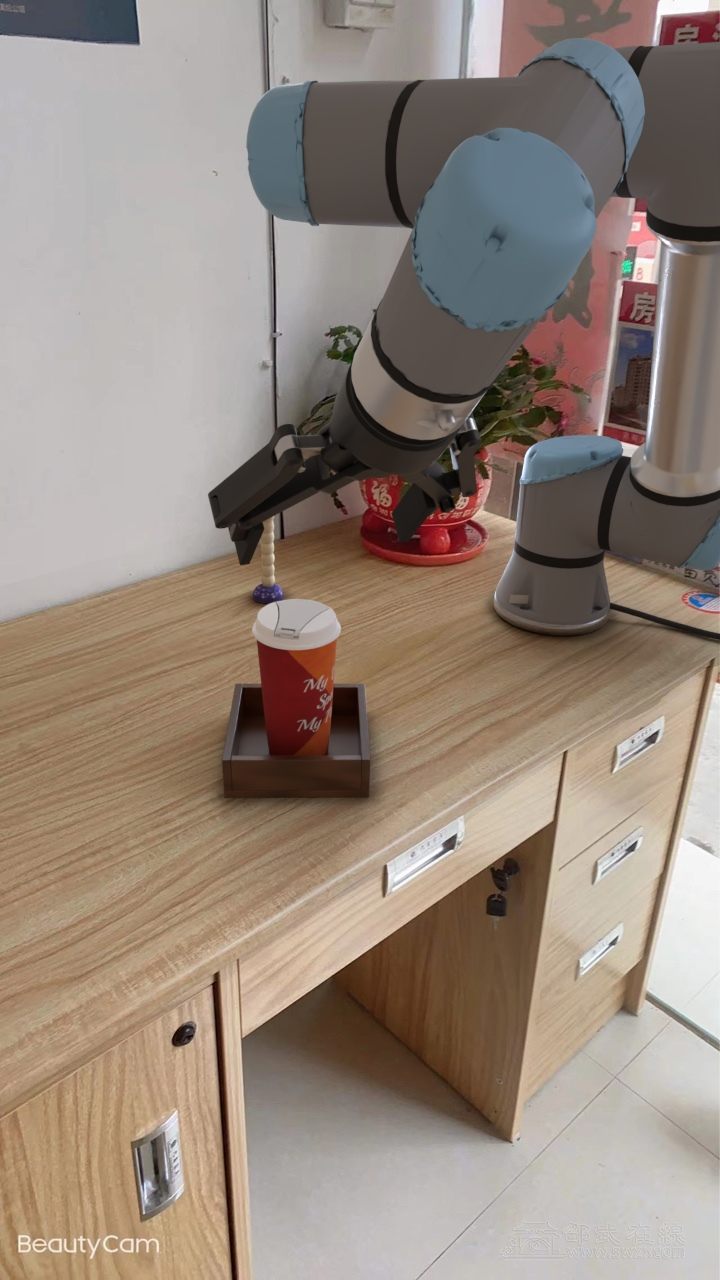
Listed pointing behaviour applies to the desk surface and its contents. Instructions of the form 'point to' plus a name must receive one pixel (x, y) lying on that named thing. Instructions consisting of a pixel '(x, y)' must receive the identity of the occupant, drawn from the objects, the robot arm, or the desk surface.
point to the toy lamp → (267, 568)
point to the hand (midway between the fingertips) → (322, 538)
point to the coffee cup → (297, 674)
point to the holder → (297, 774)
